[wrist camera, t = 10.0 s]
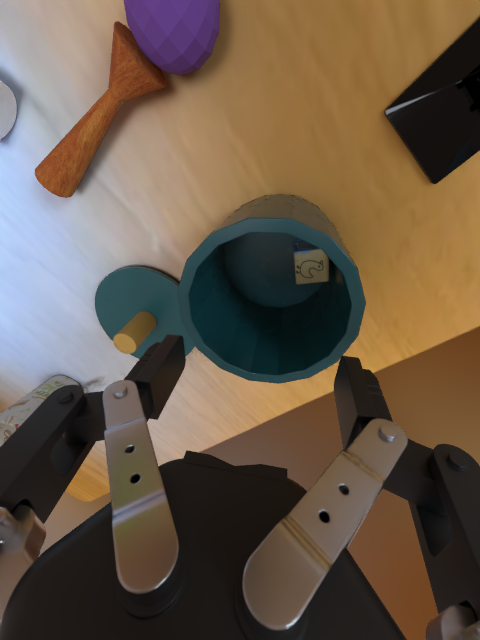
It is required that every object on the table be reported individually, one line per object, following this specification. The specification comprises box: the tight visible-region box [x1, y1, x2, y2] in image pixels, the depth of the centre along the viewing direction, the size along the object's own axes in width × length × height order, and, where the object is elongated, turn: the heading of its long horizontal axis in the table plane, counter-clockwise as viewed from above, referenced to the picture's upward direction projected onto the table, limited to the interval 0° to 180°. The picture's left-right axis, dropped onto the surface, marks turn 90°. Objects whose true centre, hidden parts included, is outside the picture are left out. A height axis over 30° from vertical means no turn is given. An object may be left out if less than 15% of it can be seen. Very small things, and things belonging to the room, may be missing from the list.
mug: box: [0, 375, 88, 447], centre depth 39 cm, size 8×13×10 cm, turn 121°
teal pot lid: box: [95, 266, 195, 359], centre depth 31 cm, size 13×13×6 cm
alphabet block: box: [293, 241, 329, 284], centre depth 25 cm, size 3×3×3 cm
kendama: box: [35, 0, 220, 198], centre depth 21 cm, size 6×6×20 cm
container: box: [177, 194, 366, 383], centre depth 23 cm, size 12×12×12 cm
